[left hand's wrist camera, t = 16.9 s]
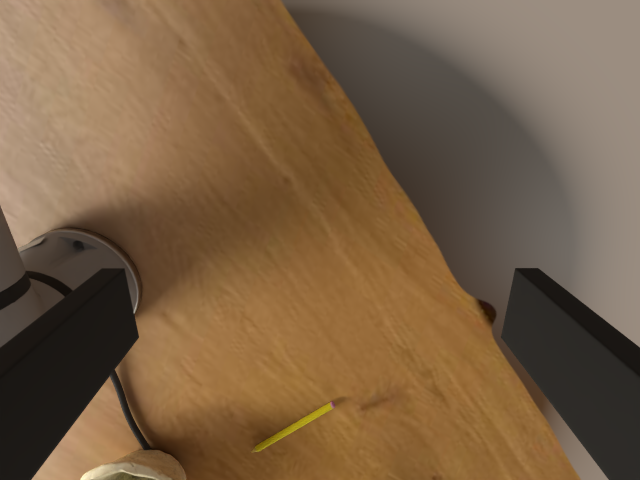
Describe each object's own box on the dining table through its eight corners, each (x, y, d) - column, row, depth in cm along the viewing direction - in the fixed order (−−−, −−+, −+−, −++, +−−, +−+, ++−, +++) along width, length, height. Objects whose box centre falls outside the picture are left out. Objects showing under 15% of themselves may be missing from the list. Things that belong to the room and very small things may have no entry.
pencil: (331, 399, 56) (331, 404, 55) (335, 403, 57) (335, 408, 56) (248, 448, 60) (247, 453, 59) (252, 451, 60) (251, 457, 59)
